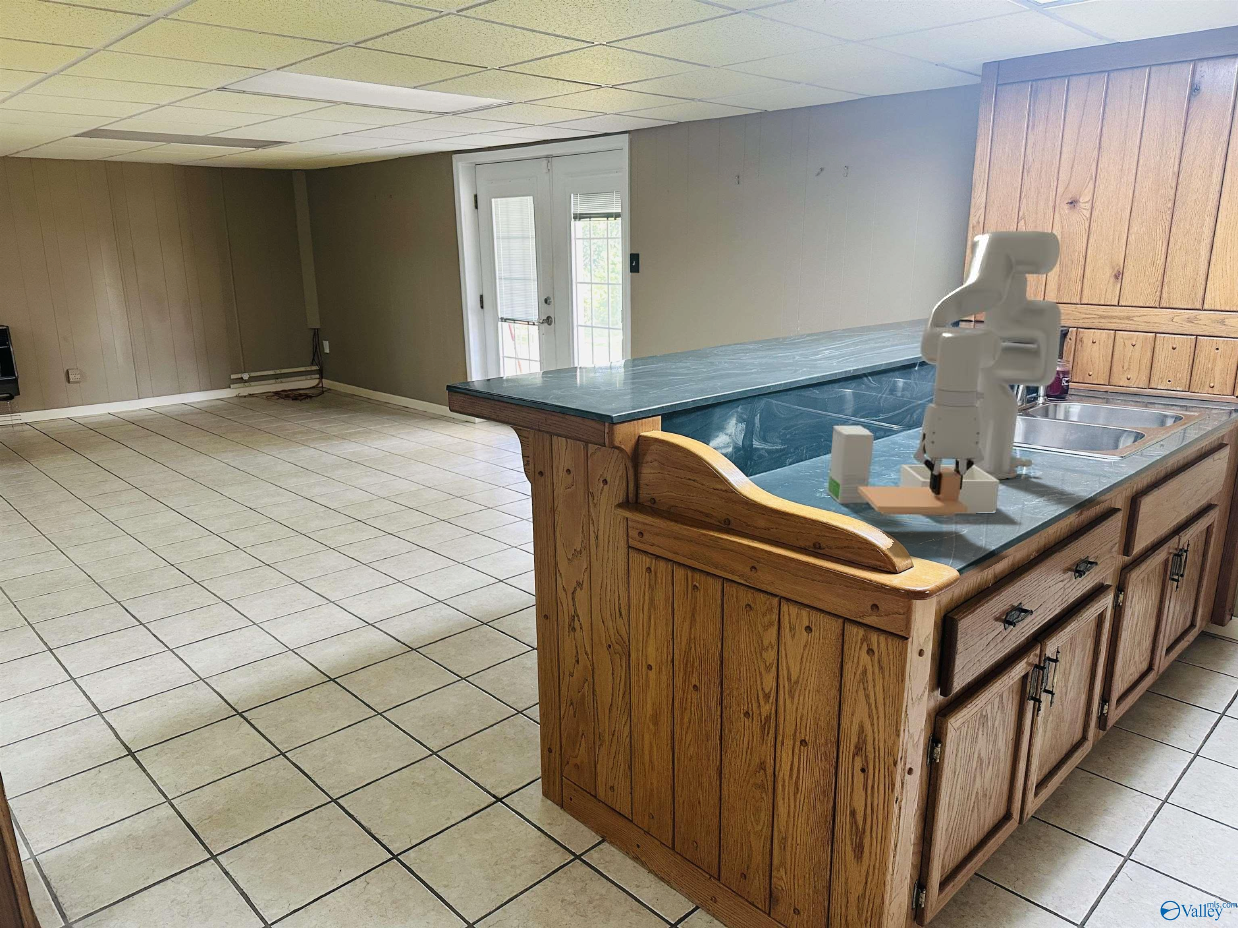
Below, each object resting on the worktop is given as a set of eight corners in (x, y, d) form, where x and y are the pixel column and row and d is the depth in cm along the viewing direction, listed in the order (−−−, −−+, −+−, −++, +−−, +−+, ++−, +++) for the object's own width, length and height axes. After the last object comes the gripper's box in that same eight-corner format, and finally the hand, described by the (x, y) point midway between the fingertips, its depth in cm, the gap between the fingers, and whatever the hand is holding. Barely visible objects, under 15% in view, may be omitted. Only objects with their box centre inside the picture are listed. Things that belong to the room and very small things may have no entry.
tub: (970, 495, 190) (974, 465, 189) (995, 513, 178) (999, 481, 176) (898, 495, 190) (901, 464, 189) (918, 513, 178) (921, 480, 176)
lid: (940, 496, 172) (943, 462, 170) (966, 517, 159) (970, 480, 157) (857, 496, 172) (859, 462, 170) (876, 516, 159) (880, 480, 157)
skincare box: (827, 493, 192) (831, 425, 188) (855, 492, 192) (860, 424, 188) (839, 504, 184) (844, 433, 180) (869, 503, 184) (875, 433, 180)
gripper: (989, 395, 164) (979, 488, 168) (904, 395, 164) (896, 487, 168) (1007, 402, 157) (995, 499, 161) (917, 401, 157) (908, 498, 161)
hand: (944, 492), depth 165 cm, fingers closed on lid, 3 cm apart
